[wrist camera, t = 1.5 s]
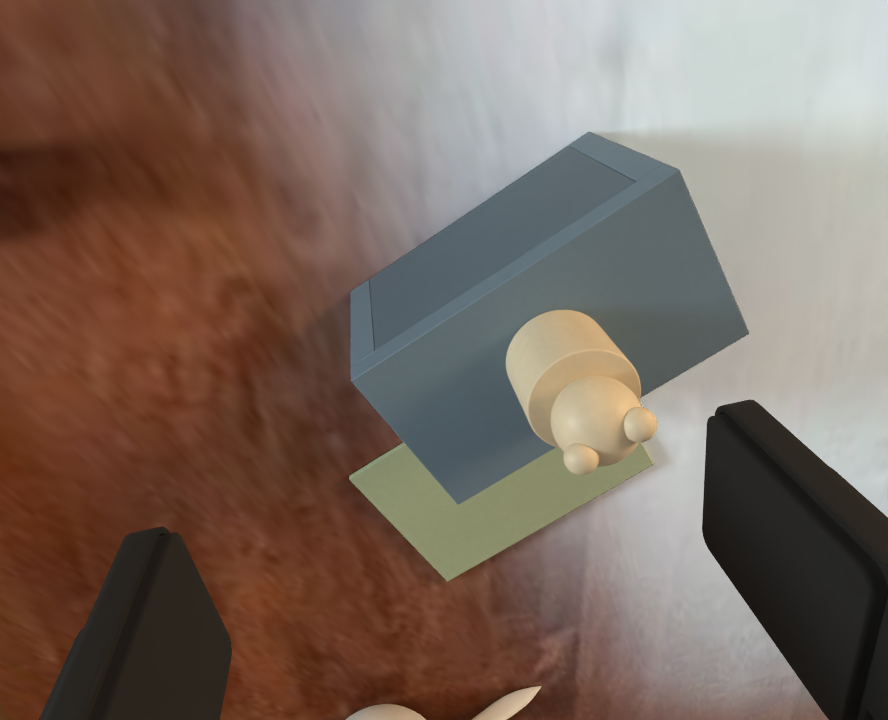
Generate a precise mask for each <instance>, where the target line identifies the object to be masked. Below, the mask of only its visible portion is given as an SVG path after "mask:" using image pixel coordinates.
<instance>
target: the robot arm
mask: <svg viewBox="0 0 888 720" xmlns="http://www.w3.org/2000/svg"><path fill="white" fill-rule="evenodd" d="M702 531H703V537H704V540H705V543H706V545H707V547H708V549H709V550H710V552H711V553H712V555H713V556H714V558H715V559H716V560H717V562H718V563H719V565H720V566H721V568H722V569H723V570H724V572H725V573H726V575H727V576H728V578H729V579H730V580H731V582H732V583H733V585H734V586H735V588H736V589H737V590H738V592H739V593H740V595H741V596H742V597H743V599H744V600H745V602H746V603H747V605H748V606H749V607H750V609H751V610H752V612H753V613H754V615H755V616H756V617H757V619H758V620H759V622H760V623H761V625H762V626H763V627H764V629H765V630H766V632H767V633H768V634H769V636H770V637H771V639H772V640H773V642H774V643H775V644H776V646H777V647H778V649H779V650H780V652H781V653H782V654H783V656H784V657H785V659H786V660H787V662H788V663H789V664H790V666H791V667H792V669H793V670H794V671H795V673H796V674H797V676H798V677H799V679H800V680H801V681H802V683H803V684H804V686H805V687H806V689H807V690H808V691H809V693H810V694H811V696H812V697H813V699H814V700H815V701H816V703H817V704H818V706H819V707H820V708H821V710H822V711H823V713H824V714H825V715H826V717H827V718H828V719H829V720H888V518H887V517H886V516H885V515H884V514H883V513H882V512H881V511H880V510H878V509H877V508H876V507H875V506H874V505H873V504H872V503H871V502H870V501H868V500H867V499H866V498H865V497H864V496H863V495H862V494H861V493H859V492H858V491H857V490H856V489H855V488H854V487H853V486H852V485H850V484H849V483H848V482H847V481H846V480H845V479H844V478H843V477H842V476H840V475H839V474H838V473H837V472H836V471H835V470H833V469H832V468H831V467H829V466H828V465H827V464H825V463H824V462H823V461H822V460H821V459H820V458H819V457H818V456H816V455H815V454H814V453H813V452H812V451H811V450H810V449H809V448H808V447H806V446H805V445H804V444H803V443H802V442H801V441H800V440H799V439H798V438H796V437H795V436H794V435H793V434H792V433H791V432H790V431H789V430H787V429H786V428H785V427H784V426H783V425H782V424H781V423H780V422H779V421H777V420H776V419H775V418H774V417H773V416H772V415H771V414H770V413H768V412H767V411H766V410H765V409H764V408H763V407H762V406H761V405H760V404H758V403H757V402H755V401H754V400H746V401H741V402H737V403H732V404H727V405H723V406H720V407H718V408H717V410H716V412H715V416H711V417H709V419H708V422H707V437H706V459H705V480H704V502H703V524H702ZM231 655H232V648H231V641H230V637H229V634H228V632H227V630H226V628H225V626H224V624H223V622H222V620H221V618H220V616H219V614H218V612H217V610H216V608H215V605H214V603H213V601H212V599H211V597H210V595H209V593H208V591H207V589H206V587H205V585H204V583H203V581H202V579H201V577H200V575H199V572H198V570H197V568H196V566H195V564H194V562H193V560H192V558H191V556H190V554H189V552H188V550H187V548H186V546H185V544H184V542H183V540H182V538H181V536H180V535H179V534H178V533H171V534H170V532H169V531H168V529H166V528H165V527H158V528H153V529H148V530H144V531H139V532H134V533H130V534H128V535H127V536H126V537H125V538H124V540H123V542H122V544H121V546H120V548H119V551H118V553H117V555H116V557H115V560H114V562H113V564H112V566H111V569H110V571H109V573H108V575H107V577H106V580H105V582H104V584H103V586H102V589H101V591H100V593H99V595H98V598H97V600H96V602H95V604H94V607H93V609H92V611H91V613H90V616H89V618H88V620H87V622H86V624H85V627H84V628H83V629H82V630H81V631H80V633H79V634H78V636H77V637H76V639H75V641H74V644H73V646H72V648H71V650H70V652H69V655H68V657H67V659H66V661H65V663H64V666H63V668H62V670H61V672H60V674H59V677H58V679H57V681H56V683H55V685H54V688H53V690H52V692H51V694H50V697H49V699H48V701H47V703H46V705H45V708H44V710H43V712H42V714H41V716H40V719H39V720H220V715H221V710H222V704H223V699H224V694H225V688H226V683H227V678H228V672H229V667H230V662H231Z"/></svg>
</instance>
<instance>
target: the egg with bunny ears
mask: <svg viewBox="0 0 888 720" xmlns="http://www.w3.org/2000/svg"><path fill="white" fill-rule="evenodd" d="M540 688H541V686H536V687H530V688H525V689H521V690H518V691H515V692H513V693H510V694H508V695H506V696H504V697H502V698H501V699H499V700H497V701H496V702H494V703H493V704H491V705H490V706H489V707H487V708H486V709H485V710H483V711H482V712H481V713H480V714H478V715H477V716H476V717H474V718H473V719H472V720H507V719H509V718H510V717H512V716H513V715H514V714H516V713H517V712H518V711H519V710H521V709H522V708H523V707H525V706H526V705H527V704H528V703H529V702H530V701H531V700H532V699H533V697H534V696H535V695H536V694H537V692H538V691H539V689H540ZM345 720H426V719H425V718H424V717H422V716H421V715H420V714H418V713H416V712H415V711H413V710H411V709H409V708H406V707H403V706H400V705H394V704H379V705H374V706H370V707H367V708H364V709H362V710H360V711H358V712H356V713H354V714H353V715H351V716H349V717H348V718H347V719H345Z"/></svg>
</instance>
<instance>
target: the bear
mask: <svg viewBox="0 0 888 720" xmlns="http://www.w3.org/2000/svg"><path fill="white" fill-rule="evenodd" d="M506 371H507V375H508V377H509V380H510V382H511V384H512V387H513V389H514V391H515V393H516V395H517V397H518V400H519V402H520V404H521V406H522V408H523V411H524V413H525V415H526V417H527V419H528V422H529V424H530V426H531V428H532V429H533V431H534V432H535V433H536V435H537V436H538V437H539V438H541V439H542V440H543V441H545V442H546V443H548V444H550V445H552V446H554V447H558V448H561V449H562V451H563V452H564V457H563V458H564V463H565V465H566V467H567V469H568V470H569V471H570V472H572V473H574V474H576V475H588V474H590V473H592V472H593V471H594V470H595V469H596V468H597V467H603V466H609V465H613V464H615V463H618V462H620V461H622V460H623V459H625V458H626V457H628V456H629V455H630V454H631V453H632V452H633V451H634V449H635V448H636V447H637V445H638V444H639V442H645V441H647V440H649V439H650V438H652V437H653V435H654V434H655V432H656V429H657V421H656V418H655V416H654V415H653V413H652V412H651V411H649V410H648V409H646V408H643V407H641V405H640V403H639V402H640V396H641V384H640V379H639V376H638V373H637V371H636V369H635V368H634V366H633V365H632V364H631V363H630V361H629V360H628V359H627V358H626V357H625V355H624V354H623V353H622V352H621V351H620V350H619V348H618V347H617V346H616V345H615V344H614V342H613V341H612V340H611V339H610V338H609V337H608V335H607V334H606V333H605V332H604V331H603V329H602V328H601V327H600V326H599V325H598V324H597V323H596V322H595V321H594V320H593V319H592V318H591V317H589V316H587V315H585V314H583V313H581V312H578V311H573V310H554V311H549V312H546V313H543V314H541V315H538V316H536V317H535V318H533V319H531V320H530V321H528V322H527V323H526V324H525V325H524V326H522V327H521V328H520V330H519V331H518V332H517V333H516V334H515V336H514V337H513V339H512V341H511V343H510V345H509V348H508V350H507V355H506Z"/></svg>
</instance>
